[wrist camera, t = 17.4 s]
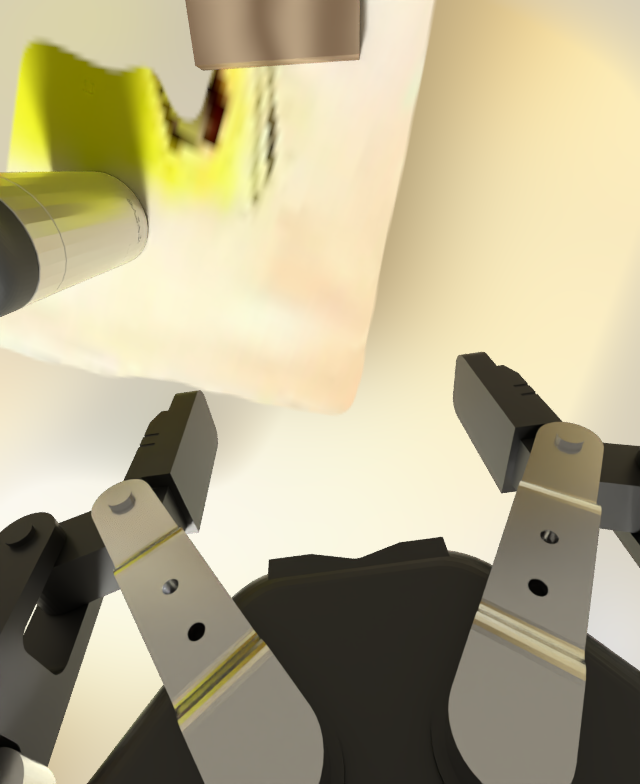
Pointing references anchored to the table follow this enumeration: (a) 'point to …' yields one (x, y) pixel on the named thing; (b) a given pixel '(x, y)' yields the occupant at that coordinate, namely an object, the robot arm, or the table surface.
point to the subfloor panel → (272, 32)
